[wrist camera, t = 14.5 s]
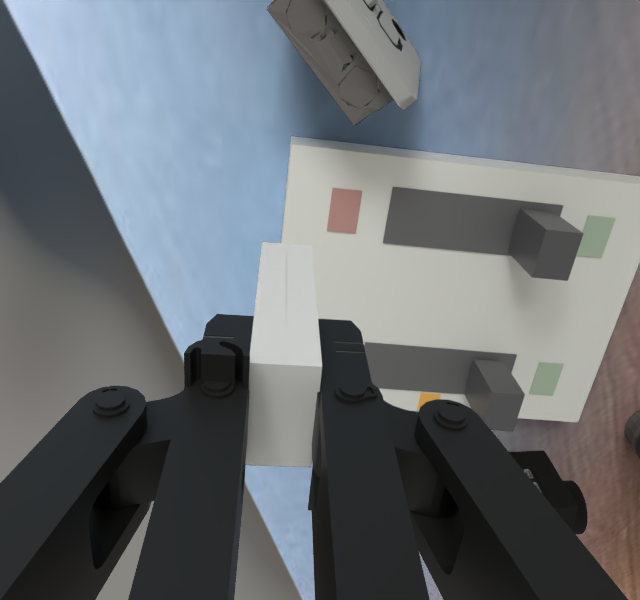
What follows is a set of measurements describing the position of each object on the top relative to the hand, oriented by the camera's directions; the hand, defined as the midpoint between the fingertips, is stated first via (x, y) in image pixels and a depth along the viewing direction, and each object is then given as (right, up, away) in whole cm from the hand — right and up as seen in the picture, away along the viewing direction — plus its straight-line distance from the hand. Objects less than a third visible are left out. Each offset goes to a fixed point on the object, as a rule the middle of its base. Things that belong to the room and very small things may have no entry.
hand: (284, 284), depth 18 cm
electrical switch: (+3, +17, +19) cm, 26 cm away
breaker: (+16, +4, +22) cm, 27 cm away
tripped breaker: (+14, -7, +27) cm, 31 cm away
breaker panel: (+11, +1, +28) cm, 30 cm away
